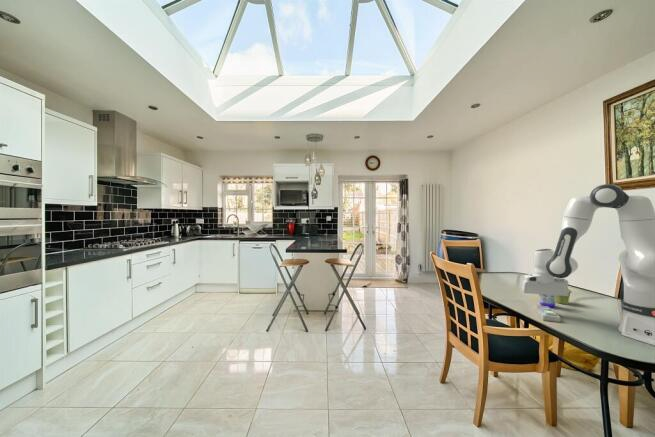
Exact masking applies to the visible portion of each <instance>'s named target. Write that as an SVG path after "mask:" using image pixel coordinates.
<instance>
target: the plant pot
mask: <svg viewBox="0 0 655 437" xmlns="http://www.w3.org/2000/svg"><path fill="white" fill-rule="evenodd" d="M568 291H569V295H568V296H559V295H555V304H556V303H557V304H561V305H568V304H569V301H570V295H571V293H572V292H573V290H572V289H571V288H568Z"/></svg>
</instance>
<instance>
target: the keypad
mask: <svg viewBox="0 0 655 437" xmlns="http://www.w3.org/2000/svg"><path fill="white" fill-rule="evenodd" d="M538 307H545V308H550V307H547V306H542V305H537V304H536V305H535V304H532V310H533V311H534V312H535V313H536V315H537V316H539V318H540V319H542V321H547V322H556V323H561V316H559V314H557V313H556V312H555V311H554V310H553V309H551V310H552V311H553V312H554V313H555V314H556V316H549V315H545V314H544V313H543V312H542V311H541V310H540V309H539V308H538Z"/></svg>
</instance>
